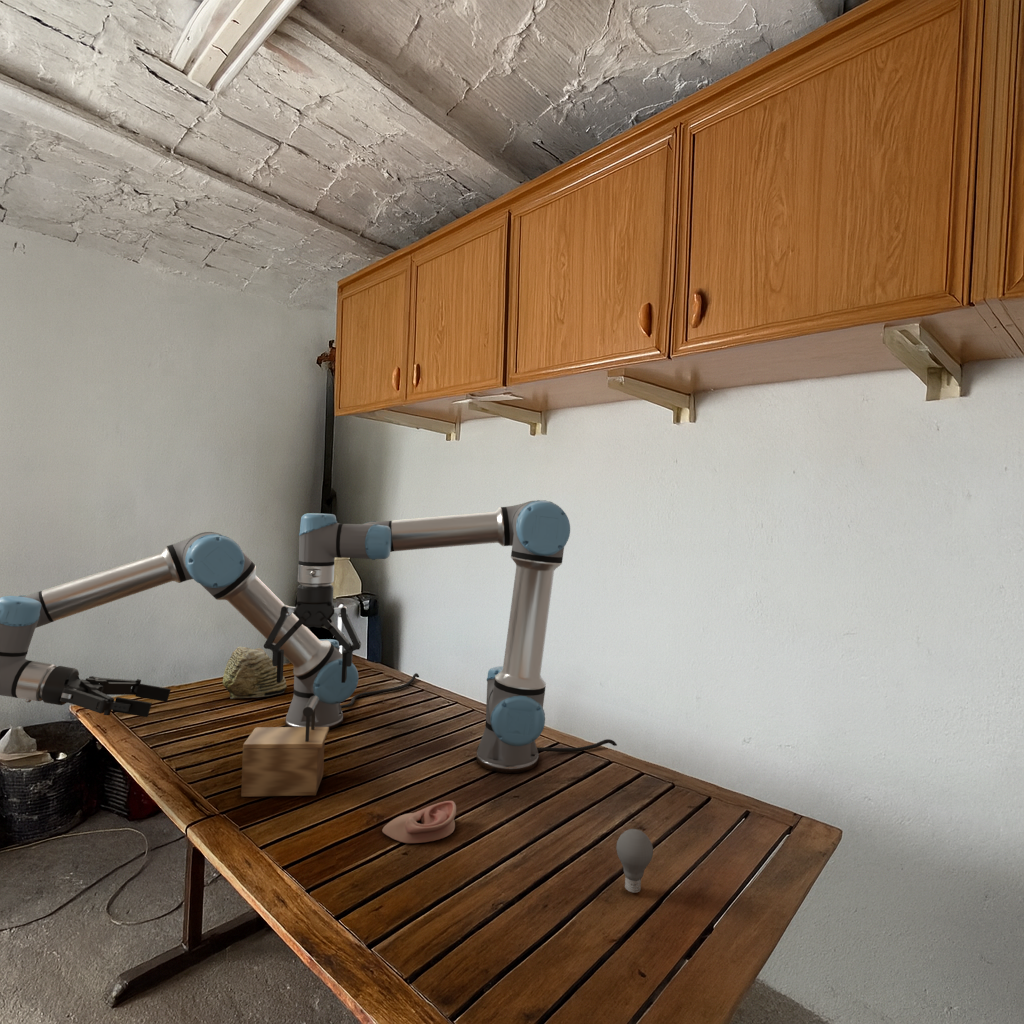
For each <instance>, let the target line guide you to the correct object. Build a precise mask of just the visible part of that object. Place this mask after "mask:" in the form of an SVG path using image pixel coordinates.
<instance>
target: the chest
mask: <svg viewBox="0 0 1024 1024" xmlns="http://www.w3.org/2000/svg"><path fill="white" fill-rule="evenodd" d="M325 742H326V740H325V741H324V743H323V746H322V748H243V747H242V767H241V790H240V791H241V792H240V796H241V798H245V797H246V798H247V797H295V796H299V797H300V796H301V797H302V796H317V793H318V790H319V787H320V785H321V782H322V779H323V777H324V768H325V766H324V764H325Z"/></svg>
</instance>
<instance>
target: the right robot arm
mask: <svg viewBox="0 0 1024 1024" xmlns="http://www.w3.org/2000/svg"><path fill="white" fill-rule="evenodd" d="M570 535H571V524H570V518H569V517H568V515H567V513H566V512H565V510H564V509H563V508H562V507H561V506H559V505H558V504H557V503H554V502H553V501H548V500H543V499H542V500H541V499H540V500H539V499H538V500H537V499H536V500H530V501H527V502H523V503H519V504H515V505H509V506H508V505H507V506H499V507H498V508H497V509H496V510H495V511H488V512H477V513H465V514H464V513H463V514H452V515H451V514H450V515H439V516H428V517H417V518H405V519H393V520H382V521H381V520H380V521H379V520H378V521H377V520H373V521H366V522H364V523H340V522H338V520H337V516H336V515H335V514H333V513H317V512H315V513H314V512H312V513H304V514H303V515H301V518H300V526H299V533H298V566H297V570H298V571H297V583H299V585H298V586H297V590H296V591H297V594H296V605H295V606H290V605H288V604H285V605H284V606H283V607H282V608H281V613H280V617H279V619H278V621H277V623H276V624H275V626H274V628H273V630H272V632H271V633H270V635H269V637H268V639H266V641H265V643H264V644H263V647H264V649H265V650H271V651H272V658H271V659H272V664H273V666H276V668H277V683H280V682H281V681H282V679H283V676H284V662H285V661H284V660H285V656H284V649H280V648H281V647H282V645H283V644H284V643H285V642H286V641H287V640H288V639H289V638H290V637H291V636H292V635H293V634H294V633H295V632H296V630H297V629H298V628H299V627H300V626H301V625H302V624H303V625H304V626H306V627H307V628H313V627H314V628H317V629H318V628H319V629H320V628H322V627H325V628H326V629H327V630H328V631H329V632H330V634H332V636H333V637H334V638H335V640H337V641H338V642H339V645H341V647H342V649H344V650H343V652H342V655H343V656H342V681H341V683H345V682H346V679H347V667H350V666H351V664H352V663H353V652H354V651H358V650H360V649H361V647H362V643H361V640H360V638H359V635H358V633H357V631H356V629H355V628H354V625H353V623H352V621H351V618H350V616H349V611H348V610H349V609H348V608H349V607H348V606H346V605H342V606H339V607H335V606H334V586H333V585H332V584H333V583H334V581H335V559H336V558H337V559H338V558H339V559H342V558H343V559H347V558H348V559H366V560H372V561H375V560H386V559H389V557H390V556H391V553H392V552H402V551H414V550H415V551H417V550H427V549H438V548H449V547H451V548H452V547H463V546H475V545H487V544H499V545H500V546H502V547H511V553H510V558H511V560H512V561H513V562H514V564H515V574H514V580H513V581H514V582H513V588H512V597H511V604H510V612H509V617H508V618H509V620H508V627H507V633H506V634H507V635H506V643H505V648H504V649H505V650H504V656H503V657H504V658H503V665H501V666H493V667H491V668H490V669H488V671H487V677H486V701H485V702H486V703H485V725H484V726H485V727H484V730H483V733H482V736H481V738H480V741H479V744H478V745H477V747H476V762H477V764H478V765H479V766H481V767H483V768H485V769H486V770H489V771H492V772H497V773H502V774H503V773H504V774H516V773H517V774H518V773H524V772H527V771H531V770H533V769H534V768H536V767H537V765H538V764H539V752H550V753H551V752H554V753H576V752H585V751H588V750H593V749H597V748H599V747H601V746H603V745H606V744H610V745H611V746H614V747H616V746H617V747H618V744H617V742H616V741H614V740H613V739H609V738H608V739H607V738H606V739H603V740H600V741H598V742H596V743H593V744H587V745H585V746H584V745H583V746H580V747H579V746H578V747H549V746H548V747H540V746H539V747H538V746H537V743H536V740H537V739H538V738H539V737H540V736H541V734H542V733H543V731H544V728H545V724H546V713H545V709H544V703H545V695H546V688H547V687H546V686H547V683H546V681H545V680H544V678H543V677H542V675H541V672H542V664H543V658H544V650H545V645H546V644H545V643H546V637H547V636H546V634H547V629H548V620H549V614H550V606H551V597H552V591H553V590H552V589H553V582H554V575H555V571H556V570H557V569H558V568H559V567H560V566H562V565H563V559H564V551H565V547H566V545H567V543H568V541H569V539H570ZM292 613H293V614H294V615H295V616H296V617H297V618H298V619H299V620H298V621H297V622H296V623H295V624H294V625H293V626H292V628H291V629H290V630H289V631H288V632H287V633H286V634H285V635H284V636H283V637H282V638H281V639H280V640H279V641H278V643H277V644H275V643H273V642H274V640H275V638H276V636H277V635H278V633H279V631H280V629H281V628H282V626H283V624H284V622H285V620H286V619H287V616H290V615H291V614H292ZM334 614H336V615H337V617H338V618H340V619H341V623H342V624H343V627H344V628H345V631H346V633H347V635H348V637H349V639H350V641H351V642H350V641H349V639H348V638H347V637H346V636H345V634H344V633H343V632H342V631H341V630H340V628H338V626H337V625H336V624H335V622H334V621H333V619H332V617H333V616H334Z"/></svg>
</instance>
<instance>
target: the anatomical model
mask: <svg viewBox="0 0 1024 1024" xmlns="http://www.w3.org/2000/svg"><path fill="white" fill-rule="evenodd" d="M456 815H457V805H456V802H454V801H453V800H444V801H441V802H438V803H435V804H432V805H429V806H426V807H424V808H422V809H420V810H417V811H415V812H410V813H404V814H402V815H401V814H400V815H399V816H397V817H395V818H393V819H391V820H390V821H389V822H388V823H386V824H385V825H384V826H383V828H382V830H381V831H382V833H383V834H384V835H385V836H387V837H388V838H391V839H392V840H394V841H397V842H399V843H404V844H423V843H429V842H434V841H439V840H441V839H444V838H446V837H448V836H450V835H452V833H454V831H455V829H456V822H455V818H456Z"/></svg>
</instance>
